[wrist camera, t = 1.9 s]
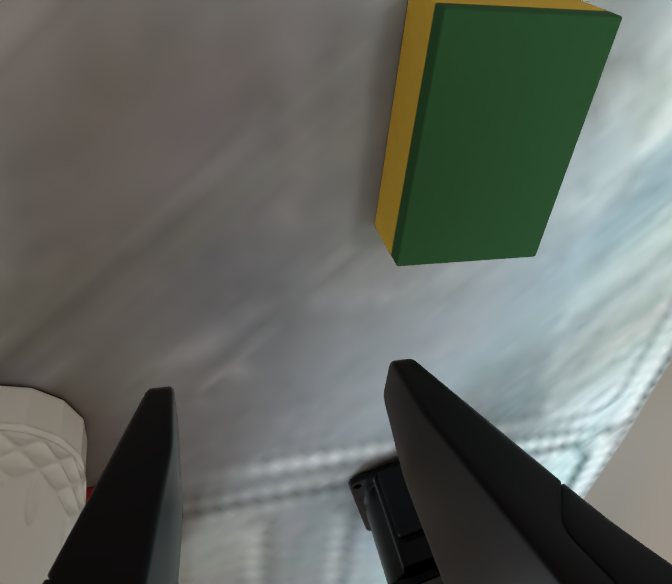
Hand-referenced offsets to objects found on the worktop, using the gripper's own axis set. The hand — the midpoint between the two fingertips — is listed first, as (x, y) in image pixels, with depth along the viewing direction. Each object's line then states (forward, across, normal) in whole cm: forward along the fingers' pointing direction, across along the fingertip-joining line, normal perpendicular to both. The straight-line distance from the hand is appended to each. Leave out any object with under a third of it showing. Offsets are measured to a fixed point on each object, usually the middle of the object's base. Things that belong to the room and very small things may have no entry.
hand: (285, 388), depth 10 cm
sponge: (+12, -9, 0) cm, 15 cm away
